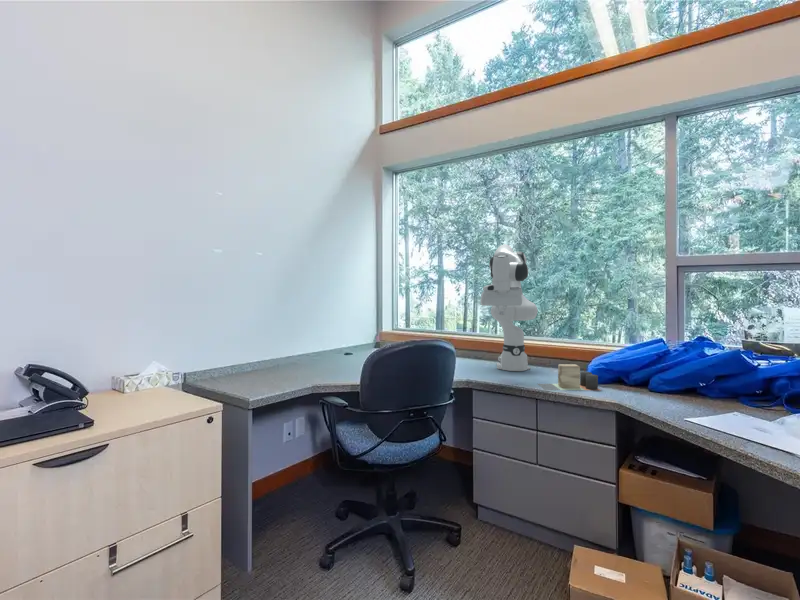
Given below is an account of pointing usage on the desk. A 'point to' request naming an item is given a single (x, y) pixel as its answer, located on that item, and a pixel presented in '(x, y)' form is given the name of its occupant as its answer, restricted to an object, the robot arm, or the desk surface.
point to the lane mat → (556, 387)
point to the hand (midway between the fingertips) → (501, 314)
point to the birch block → (568, 376)
